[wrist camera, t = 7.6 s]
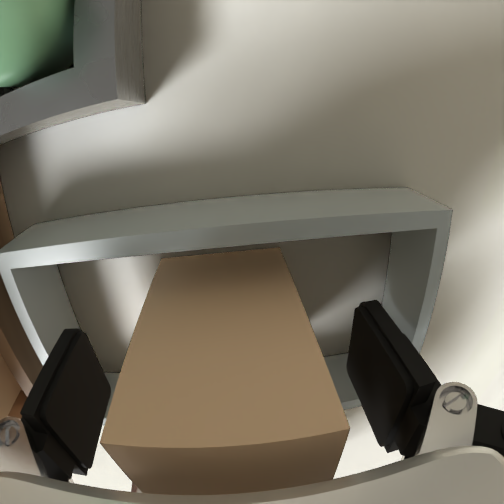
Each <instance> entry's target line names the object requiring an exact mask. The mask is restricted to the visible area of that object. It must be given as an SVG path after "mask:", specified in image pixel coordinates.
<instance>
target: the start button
mask: <svg viewBox="0 0 504 504" xmlns="http://www.w3.org/2000/svg"><path fill="white" fill-rule="evenodd" d="M74 5H75V0H0V87H18V88H21V87H23V86H25V85H28V84H30V83H32V82H35V81H37V80H40V79H43V78H45V77H48V76H50V75H53V74H56V73H59V72H62V71H65V70H67V69H68V68H69V67H70V66H71V65H72V64H73V63H74V52H73V34H74Z"/></svg>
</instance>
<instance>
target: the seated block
mask: <svg viewBox="0 0 504 504" xmlns="http://www.w3.org/2000/svg"><path fill="white" fill-rule="evenodd" d="M21 389H22V388H21V387H20V385H19V384H18V382H17V381H16V379H15V378H14V376H13V374H12V373H11V371H10V370H9V368H8V366H7V365H6V363H5V361H4V360H3V358H2V356H1V354H0V420H1V419H3V418H6V417H7V416H8V414H9V412H10V410H11V408H12V406H13V404H14V402H15V400H16V398H17V396H18V394H19V392H20V390H21Z"/></svg>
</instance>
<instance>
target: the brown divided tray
mask: <svg viewBox="0 0 504 504" xmlns="http://www.w3.org/2000/svg"><path fill="white" fill-rule="evenodd" d="M13 239H14V235H13V231H12V228H11V224H10V220H9V216H8V212H7V208H6V203H5V199H4V194H3V189H2V184H1V179H0V249H1V248H3V247H4V246H5V245H6V244H8V243H9V242H10V241H12V240H13ZM0 354H1V356H2V358H3V360H4V361H5V363H6V365H7V366H8V368H9V370H10V371H11V373H12V374H13V376H14V378H15V379H16V381H17V382H18V384H19V385H20V387H21V388H22V389H21V390H20V392H19V394H18V396H17V398H16V400H15V402H14V404H13V406H12V408H11V410H10V412H9V414H8V416H7V417H16V418H18V419H19V420H21V418H22V415H21V414H20V411H21V409H22V407H23V405H24V403H25V401H26V399H27V397H28V395H29V393H30V391H31V389H32V387H33V385H34V383H35V381H36V379H37V377H38V375H39V373H40V371H41V369H42V367H43V365H42V363H41V361H40V359H39V358H38V356H37V354H36V352H35V350H34V348H33V346H32V344H31V342H30V341H29V339H28V337H27V334H26V332H25V330H24V328H23V326H22V324H21V322H20V320H19V318H18V315H17V313H16V311H15V309H14V306H13V304H12V302H11V299H10V297H9V294H8V292H7V289H6V287H5V284H4V282H3V279H2V276H1V273H0Z"/></svg>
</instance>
